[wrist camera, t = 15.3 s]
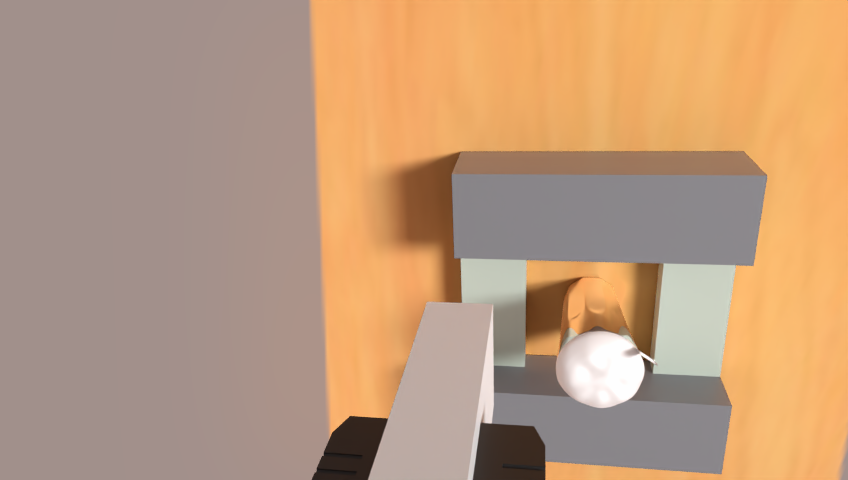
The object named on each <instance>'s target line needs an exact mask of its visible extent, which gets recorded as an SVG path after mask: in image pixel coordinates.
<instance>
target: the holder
mask: <svg viewBox="0 0 848 480" xmlns="http://www.w3.org/2000/svg"><path fill="white" fill-rule="evenodd" d="M766 181H767V175H766V174H765V173H764V172H763V171H762V170H761V169H760V168H759V167H758V166H757V164H756V163H755V162H754V161H753V160H752V159H751V158H750V157H749V156H748V155H747V154H746V153H745V152H744V151H672V152H461V153H460V155H459V158H458V160H457V162H456V165H455V167H454V170H453V172H452V200H453V233H454V258H461V287H462V303H478V304H493V363H494V408H493V417H492V424H507V425H523V426H534V427H535V429H536V430H537V432H538V434H539V436H540V437H541V439H542V441H543V442H544V444H545V461H547V462H561V463H575V464H589V465H602V466H616V467H630V468H644V469H658V470H671V471H685V472H699V473H713V474H722V467H723V461H724V454H725V448H726V441H727V435H728V428H729V422H730V415H731V409H732V405H731V403H730V400H729V398H728V395H727V393H726V390H725V388H724V386H723V383H722V381H721V378H720V373H721V366H722V359H723V352H724V345H725V338H726V331H727V324H728V317H729V310H730V303H731V296H732V289H733V282H734V275H735V268H736V265H744V266H753V265H754V259H755V252H756V246H757V239H758V233H759V226H760V220H761V213H762V207H763V200H764V194H765V187H766ZM527 260H545V261H584V262H624V263H659V268H658V278H657V289H656V299H655V310H654V320H653V331H652V341H651V352H650V357H651V358H652V359H654V360H655V362H656V363H657V364H658V366H657V365H655V364H654V363H652V362H651V361H649V360H643V362H644V369H645V371H644V377H643V380H642V382H641V384H640V387H639V388H638V390H637V392H636V393H635V395H634V396H633V397H632V398H630V399H629V400H627V401H625V402H623V403H620V404H617V405H615V406H612V407H607V408H596V407H592V406H589V405H586V404H583V403H581V402H578V401H576V400H575V399H573V398H572V397H570V396H569V395H568V394H567V393H566V392H565V391H564V390H563V388H562V387H561V385H560V384H559V382H558V380H557V376H556V361H557V356H544V355H525V349H526V276H527Z"/></svg>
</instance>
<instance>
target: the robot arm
mask: <svg viewBox="0 0 848 480" xmlns="http://www.w3.org/2000/svg"><path fill="white" fill-rule="evenodd" d="M493 408H494V363H493V304H478V303H450V302H427V304H426V307H425V310H424V313H423V316H422V319H421V322H420V325H419V328H418V331H417V334H416V337H415V340H414V343H413V346H412V349H411V352H410V355H409V358H408V361H407V364H406V367H405V370H404V373H403V376H402V379H401V382H400V385H399V388H398V391H397V394H396V397H395V400H394V403H393V406H392V409H391V412H390V415H389V418H388V419H386V418H371V417H355V416H350V417H349V418H348V419H347V420H346V421H344V422H343V423H342V424H341V425H340V426H339V427H338V428H337V429H336V430H335V431H334V432H333V433H332V435H331V437H330V439H329V442H328V444H327V446H326V449H325V451H324V456H322V458H321V460H320V462H319V464H318V467H317V472H316V473H315V474H314V476H313V478H312V480H545V444H544V442H543V441H542V439H541V437H540V436H539V434H538V432H537V430H536V429H535V427H534V426H523V425H507V424H492V417H493Z"/></svg>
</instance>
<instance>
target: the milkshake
mask: <svg viewBox="0 0 848 480" xmlns="http://www.w3.org/2000/svg"><path fill="white" fill-rule="evenodd" d="M641 355H642V356H643V357H645V358H646V359H648V360H649V361H651V362H652V363H654V364H655V365H657V366H658V364H657V363H656V362H655V360H654V359H652V358H651V357H649V356H647V355H646V354H644V353H643V352H641V351H640V350H638V348H637V345H636V343H635V341H634V339H633V336H632V334H631V332H630V330H629V328H628V326H627V323H626V321H625V318H624V316H623V313H622V310H621V308H620V305H619V302H618V299H617V297H616V294H615V291H614V289H613V287H612V286H611V285H609V284H608V283H606V282H605V281H603V280H602V279H601V278H584V277H583V278H581V279H580V280H578V281H576V282H575V283H573V284H571V285H570V286H569V288H568V290H567V293H566V295H565V298H564V302H563V312H562V322H561V332H560V341H559V348H558V354H557V361H556V376H557V380H558V382H559V384H560V385H561V387H562V388H563V390H564V391H565V392H566V393H567V394H568V395H569V396H570V397H572V398H573V399H575V400H576V401H578V402H581V403H583V404H586V405H589V406H592V407H596V408H607V407H612V406H615V405H617V404H620V403H623V402H625V401H627V400H629V399H630V398H632V397H633V396H634V395H635V393H636V392H637V390H638V388H639V387H640V384H641V382H642V380H643V377H644V371H645V369H644V362H643V359H642V357H641Z"/></svg>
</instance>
